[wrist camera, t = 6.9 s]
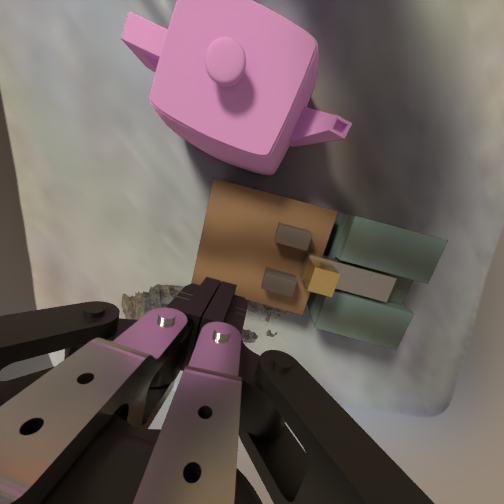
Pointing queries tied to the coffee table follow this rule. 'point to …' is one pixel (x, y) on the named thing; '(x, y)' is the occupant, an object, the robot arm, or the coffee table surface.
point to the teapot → (234, 81)
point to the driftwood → (166, 293)
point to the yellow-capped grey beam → (344, 277)
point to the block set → (293, 254)
